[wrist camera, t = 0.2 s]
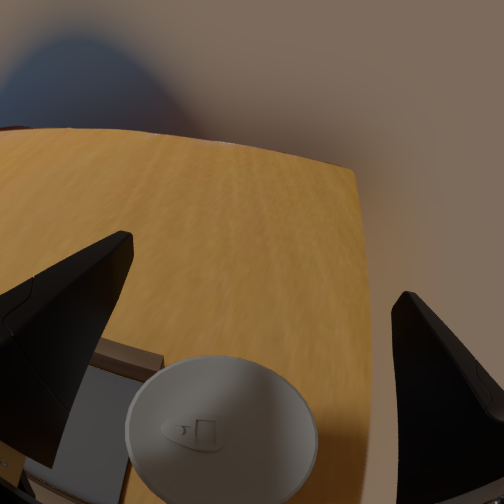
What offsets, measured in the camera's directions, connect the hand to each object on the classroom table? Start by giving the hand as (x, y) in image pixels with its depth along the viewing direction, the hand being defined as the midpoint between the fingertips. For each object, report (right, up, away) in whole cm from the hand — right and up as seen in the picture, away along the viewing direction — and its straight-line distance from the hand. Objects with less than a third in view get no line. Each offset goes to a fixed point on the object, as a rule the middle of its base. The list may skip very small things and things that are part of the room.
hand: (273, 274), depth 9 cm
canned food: (-4, -15, +8) cm, 17 cm away
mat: (-16, -12, +7) cm, 21 cm away
